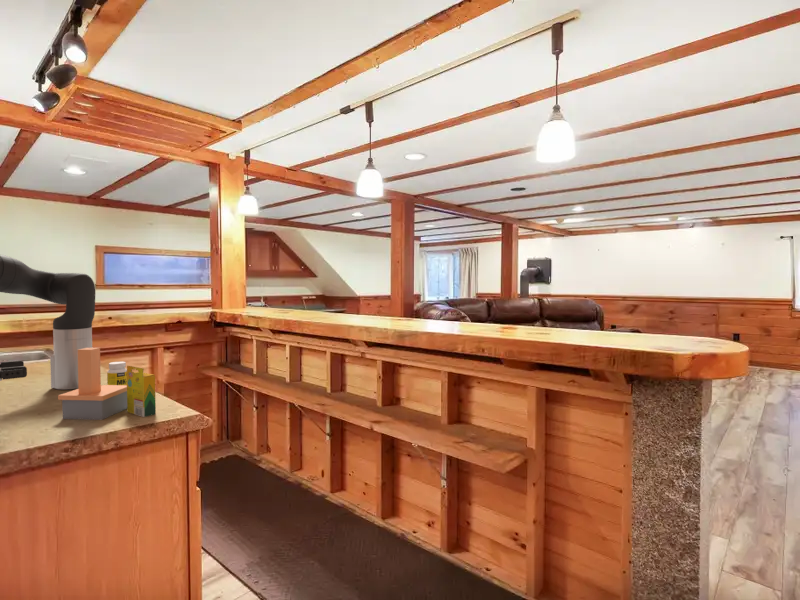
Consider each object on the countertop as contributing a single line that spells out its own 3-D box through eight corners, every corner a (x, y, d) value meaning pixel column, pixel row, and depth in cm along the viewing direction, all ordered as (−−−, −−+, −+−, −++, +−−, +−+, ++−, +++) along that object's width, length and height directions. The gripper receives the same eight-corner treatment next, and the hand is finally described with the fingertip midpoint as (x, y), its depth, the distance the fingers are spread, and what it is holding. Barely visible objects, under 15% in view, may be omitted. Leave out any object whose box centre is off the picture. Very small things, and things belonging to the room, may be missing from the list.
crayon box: (156, 416, 105) (155, 366, 105) (143, 419, 103) (142, 368, 102) (139, 411, 109) (138, 363, 108) (126, 414, 107) (125, 365, 106)
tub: (62, 421, 101) (62, 399, 101) (91, 409, 110) (91, 389, 110) (102, 422, 100) (101, 399, 100) (127, 410, 109) (127, 390, 109)
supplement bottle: (117, 395, 124) (117, 364, 123) (103, 394, 124) (102, 363, 124) (131, 390, 128) (131, 361, 128) (117, 389, 129) (116, 360, 129)
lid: (58, 399, 100) (56, 350, 100) (90, 388, 110) (89, 343, 110) (102, 400, 100) (101, 351, 99) (130, 389, 110) (129, 344, 109)
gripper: (-94, 364, 78) (27, 354, 89) (-86, 354, 89) (22, 346, 100) (-92, 407, 79) (28, 392, 90) (-85, 392, 89) (22, 380, 100)
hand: (25, 368), depth 95 cm, fingers open, 8 cm apart
